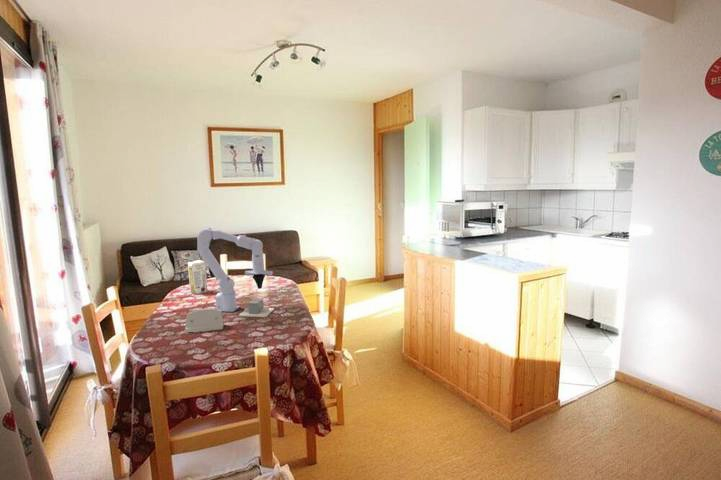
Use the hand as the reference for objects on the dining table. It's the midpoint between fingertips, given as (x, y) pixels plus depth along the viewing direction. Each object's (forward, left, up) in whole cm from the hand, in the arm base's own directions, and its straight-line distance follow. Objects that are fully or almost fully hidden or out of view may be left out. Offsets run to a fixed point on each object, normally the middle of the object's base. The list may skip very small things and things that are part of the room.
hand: (259, 288), depth 214 cm
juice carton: (-49, +22, -10) cm, 55 cm away
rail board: (+2, -10, -10) cm, 14 cm away
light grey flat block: (-14, -32, -10) cm, 36 cm away
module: (+2, -11, -9) cm, 14 cm away
